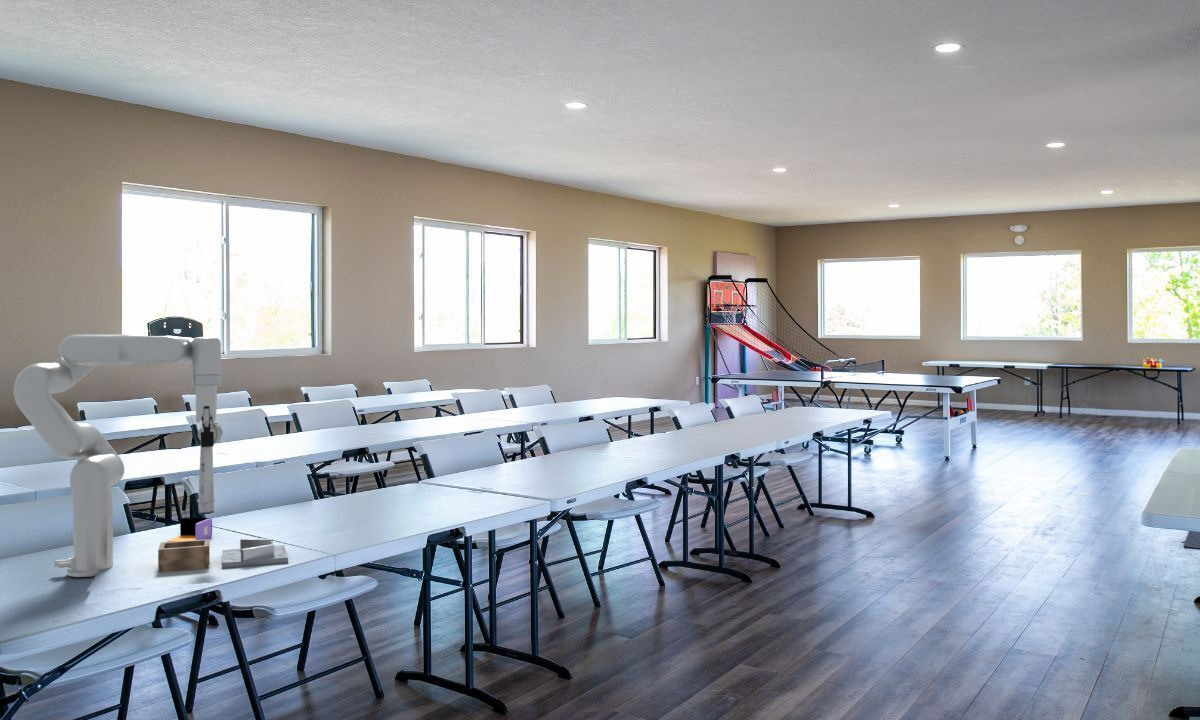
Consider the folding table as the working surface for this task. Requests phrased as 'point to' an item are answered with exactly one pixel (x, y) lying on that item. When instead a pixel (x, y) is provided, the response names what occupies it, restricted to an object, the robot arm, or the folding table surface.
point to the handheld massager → (207, 473)
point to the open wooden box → (183, 555)
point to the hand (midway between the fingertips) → (207, 445)
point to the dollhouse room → (194, 529)
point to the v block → (254, 554)
